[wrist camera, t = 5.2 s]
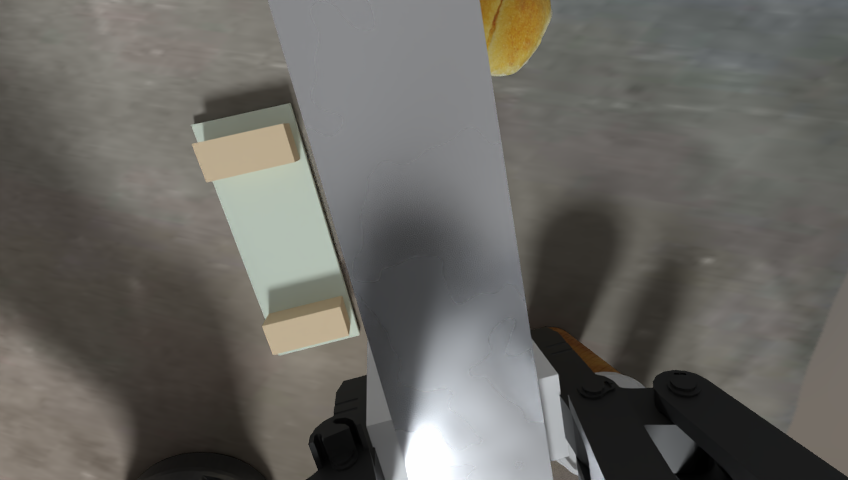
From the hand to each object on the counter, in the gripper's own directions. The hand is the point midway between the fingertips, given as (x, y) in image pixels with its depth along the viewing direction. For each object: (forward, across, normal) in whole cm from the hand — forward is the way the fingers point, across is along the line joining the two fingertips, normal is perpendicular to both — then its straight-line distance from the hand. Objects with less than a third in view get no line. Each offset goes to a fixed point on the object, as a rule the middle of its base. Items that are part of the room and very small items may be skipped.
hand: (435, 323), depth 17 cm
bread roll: (+22, +11, +14) cm, 28 cm away
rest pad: (+21, -11, 0) cm, 24 cm away
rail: (-3, 0, 0) cm, 3 cm away
